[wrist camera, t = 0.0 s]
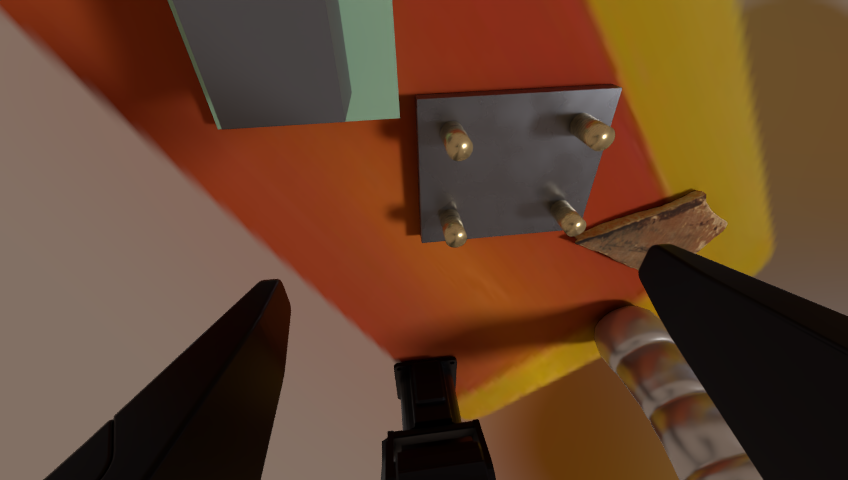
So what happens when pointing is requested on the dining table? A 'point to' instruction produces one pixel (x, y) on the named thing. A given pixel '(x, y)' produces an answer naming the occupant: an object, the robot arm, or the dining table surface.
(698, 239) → the shard
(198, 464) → the robot arm
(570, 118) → the chassis
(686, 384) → the plastic bottle
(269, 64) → the grey and green block
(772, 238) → the dining table surface
